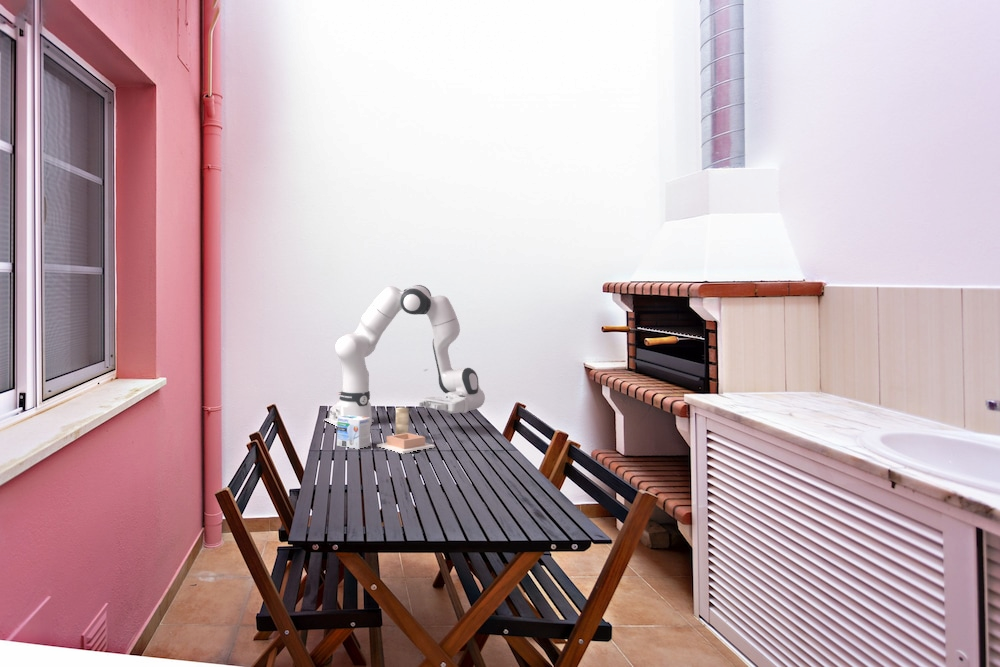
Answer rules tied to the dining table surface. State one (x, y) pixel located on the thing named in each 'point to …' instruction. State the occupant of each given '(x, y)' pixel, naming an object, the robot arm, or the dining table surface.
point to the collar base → (405, 443)
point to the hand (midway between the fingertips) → (427, 406)
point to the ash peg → (402, 420)
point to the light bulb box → (353, 431)
